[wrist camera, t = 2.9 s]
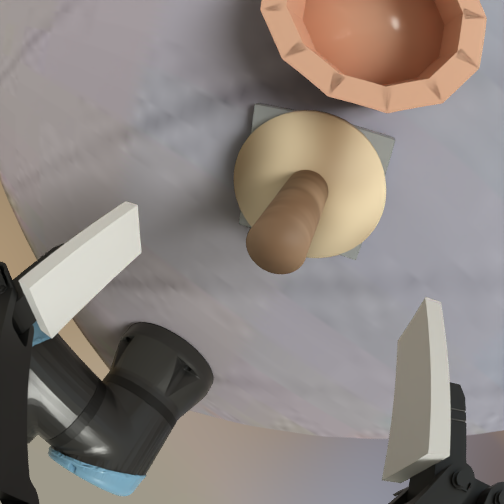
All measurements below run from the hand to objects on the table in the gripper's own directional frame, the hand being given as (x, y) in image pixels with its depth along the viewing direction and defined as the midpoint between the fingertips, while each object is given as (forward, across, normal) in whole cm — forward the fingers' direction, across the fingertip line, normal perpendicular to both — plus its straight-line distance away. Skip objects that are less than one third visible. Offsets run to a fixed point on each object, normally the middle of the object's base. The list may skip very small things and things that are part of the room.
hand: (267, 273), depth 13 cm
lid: (+12, 0, 0) cm, 12 cm away
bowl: (+13, +2, +13) cm, 18 cm away
